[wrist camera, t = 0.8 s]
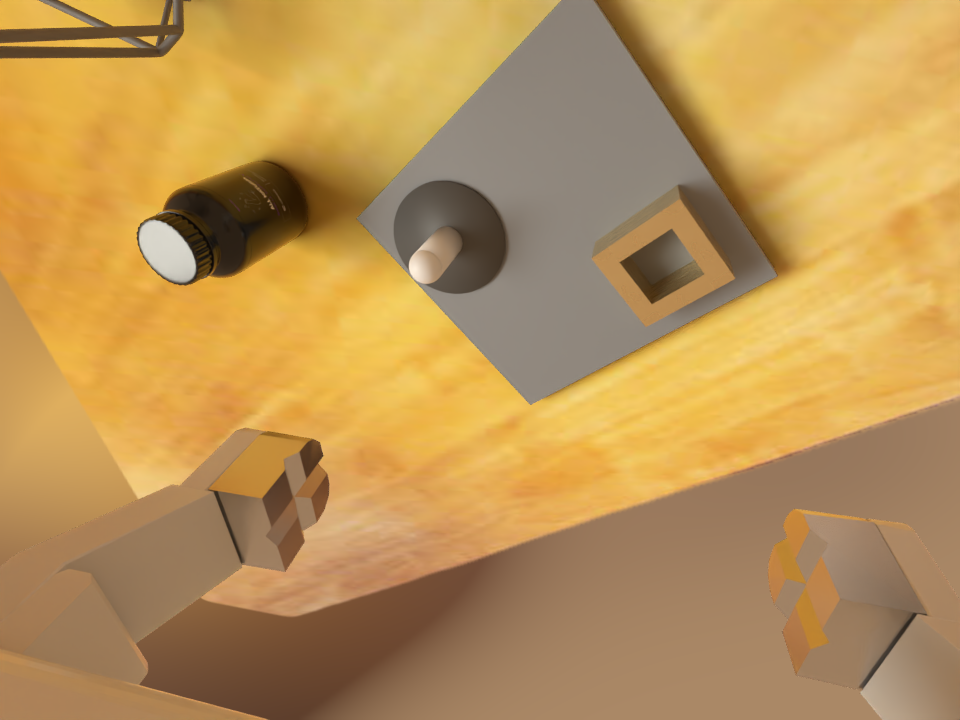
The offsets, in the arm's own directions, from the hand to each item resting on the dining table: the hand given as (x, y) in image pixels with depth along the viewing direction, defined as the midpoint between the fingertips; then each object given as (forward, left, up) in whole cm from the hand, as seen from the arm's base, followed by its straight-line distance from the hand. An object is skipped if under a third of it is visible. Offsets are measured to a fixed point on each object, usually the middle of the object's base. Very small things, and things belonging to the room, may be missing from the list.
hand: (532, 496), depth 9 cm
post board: (+8, +3, -31) cm, 32 cm away
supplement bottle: (+25, -14, -31) cm, 42 cm away
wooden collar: (+2, +8, -29) cm, 30 cm away
